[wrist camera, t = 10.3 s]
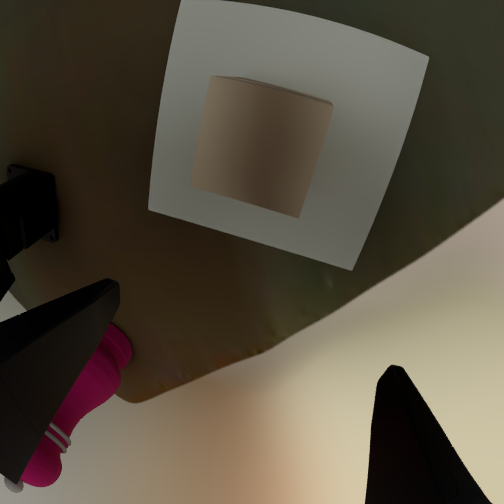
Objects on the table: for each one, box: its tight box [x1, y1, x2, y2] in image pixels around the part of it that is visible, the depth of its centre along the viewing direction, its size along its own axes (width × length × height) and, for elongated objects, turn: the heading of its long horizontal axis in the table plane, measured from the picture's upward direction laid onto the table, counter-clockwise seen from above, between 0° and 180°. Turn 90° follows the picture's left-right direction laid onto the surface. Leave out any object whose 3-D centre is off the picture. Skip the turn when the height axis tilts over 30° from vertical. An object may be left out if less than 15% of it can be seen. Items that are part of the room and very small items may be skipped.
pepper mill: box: [4, 323, 132, 493], centre depth 23 cm, size 7×7×20 cm
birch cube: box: [190, 76, 334, 219], centre depth 15 cm, size 5×5×5 cm
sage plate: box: [148, 0, 429, 271], centre depth 17 cm, size 14×14×1 cm
